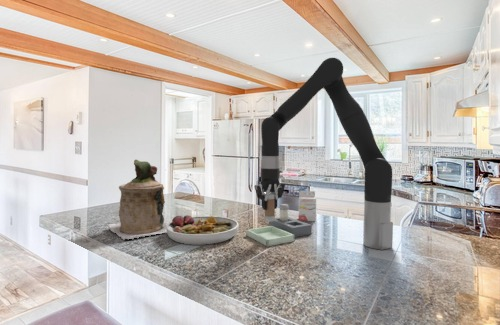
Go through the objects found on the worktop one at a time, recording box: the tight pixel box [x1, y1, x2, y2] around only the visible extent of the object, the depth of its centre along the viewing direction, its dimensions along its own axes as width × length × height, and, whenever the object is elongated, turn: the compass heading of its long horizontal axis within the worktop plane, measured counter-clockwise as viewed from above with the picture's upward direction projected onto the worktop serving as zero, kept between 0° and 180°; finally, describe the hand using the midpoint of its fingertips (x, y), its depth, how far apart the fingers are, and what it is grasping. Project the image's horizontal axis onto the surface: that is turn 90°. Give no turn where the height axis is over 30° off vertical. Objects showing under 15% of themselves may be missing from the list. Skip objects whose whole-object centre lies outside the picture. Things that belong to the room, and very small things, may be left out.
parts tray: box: [245, 225, 296, 248], centre depth 122 cm, size 16×13×2 cm
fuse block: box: [268, 216, 313, 238], centre depth 133 cm, size 18×10×4 cm, turn 30°
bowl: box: [166, 215, 239, 246], centre depth 126 cm, size 30×30×8 cm
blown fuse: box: [264, 192, 276, 222], centre depth 121 cm, size 4×4×11 cm
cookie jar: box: [107, 159, 170, 241], centre depth 133 cm, size 25×25×32 cm
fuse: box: [279, 203, 290, 222], centre depth 136 cm, size 4×4×11 cm
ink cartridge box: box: [298, 190, 317, 222], centre depth 152 cm, size 9×5×15 cm, turn 84°
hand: (269, 208), depth 121 cm, fingers closed on blown fuse, 4 cm apart
